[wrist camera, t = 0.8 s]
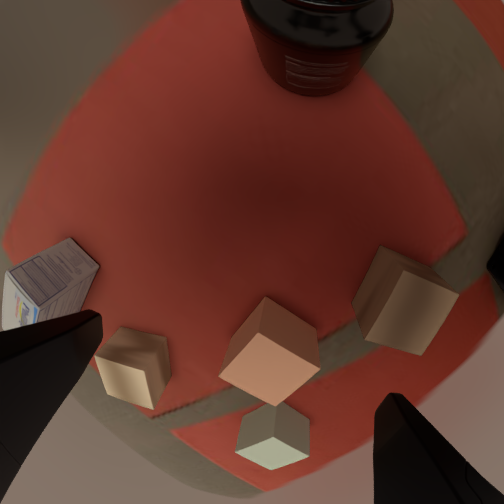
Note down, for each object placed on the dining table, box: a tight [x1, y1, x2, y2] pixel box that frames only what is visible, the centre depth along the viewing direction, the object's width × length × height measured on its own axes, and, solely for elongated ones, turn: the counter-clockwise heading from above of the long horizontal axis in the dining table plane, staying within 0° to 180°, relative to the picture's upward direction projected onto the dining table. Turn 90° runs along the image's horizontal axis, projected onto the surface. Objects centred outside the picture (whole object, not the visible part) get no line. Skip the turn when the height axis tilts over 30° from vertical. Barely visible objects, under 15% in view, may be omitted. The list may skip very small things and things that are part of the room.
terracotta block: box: [218, 296, 320, 406], centre depth 20 cm, size 5×5×5 cm
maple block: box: [94, 327, 172, 410], centre depth 23 cm, size 5×5×5 cm
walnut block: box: [352, 245, 459, 356], centre depth 17 cm, size 5×5×5 cm
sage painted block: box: [235, 401, 310, 470], centre depth 24 cm, size 5×5×5 cm
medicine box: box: [2, 238, 99, 331], centre depth 20 cm, size 8×4×9 cm, turn 141°
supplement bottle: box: [240, 0, 394, 96], centre depth 10 cm, size 7×7×12 cm
